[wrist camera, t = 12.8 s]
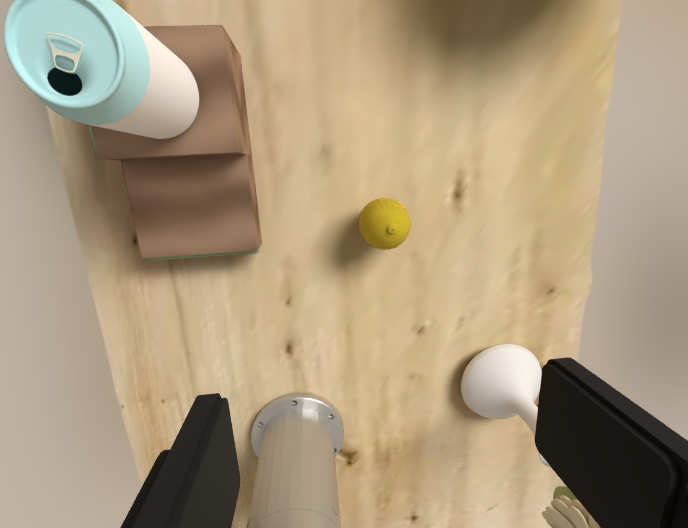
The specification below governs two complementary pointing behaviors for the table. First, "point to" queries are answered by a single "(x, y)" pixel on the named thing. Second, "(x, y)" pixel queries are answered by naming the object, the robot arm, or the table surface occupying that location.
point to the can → (100, 67)
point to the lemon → (384, 223)
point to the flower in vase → (517, 412)
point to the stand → (193, 160)
